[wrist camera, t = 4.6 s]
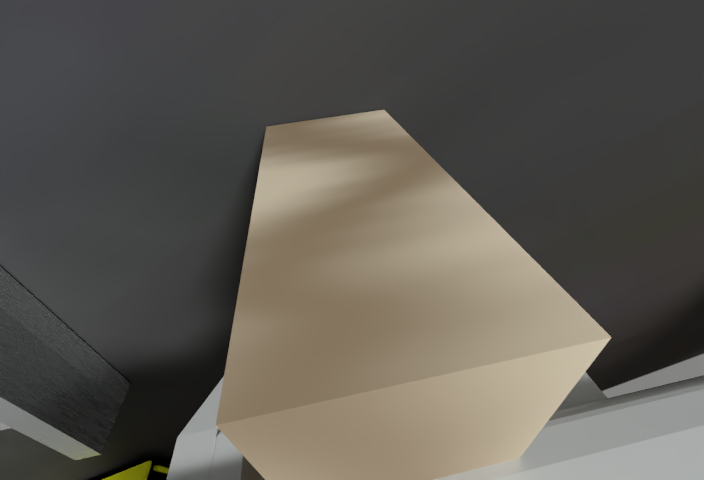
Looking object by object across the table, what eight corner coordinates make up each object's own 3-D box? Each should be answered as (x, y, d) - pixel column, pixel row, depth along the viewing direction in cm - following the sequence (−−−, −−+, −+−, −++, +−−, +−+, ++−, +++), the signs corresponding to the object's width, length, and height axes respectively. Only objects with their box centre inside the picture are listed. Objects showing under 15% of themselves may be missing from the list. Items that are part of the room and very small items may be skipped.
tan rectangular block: (385, 109, 9) (616, 336, 3) (389, 317, 15) (462, 534, 9) (264, 126, 9) (208, 426, 2) (318, 332, 15) (342, 567, 9)
